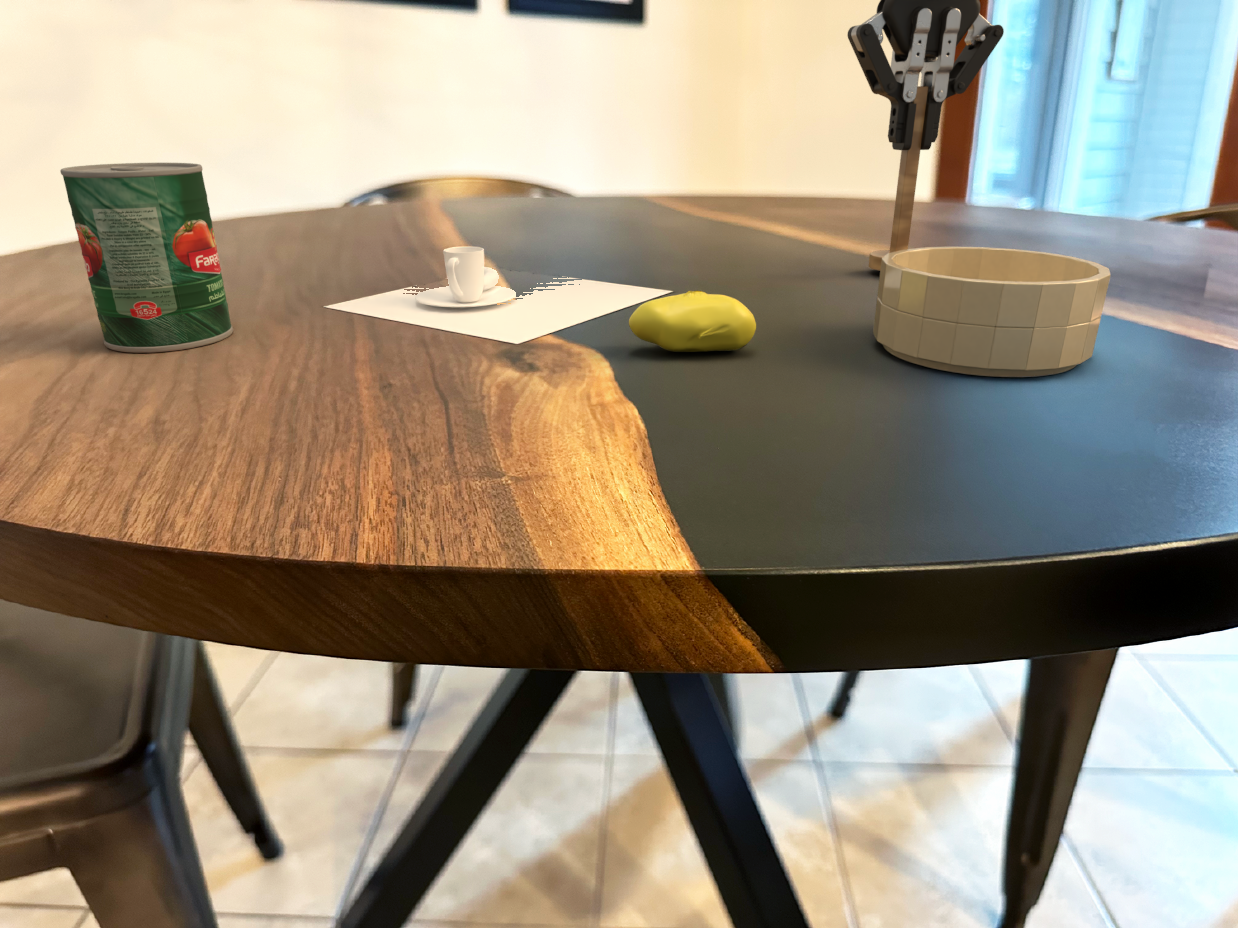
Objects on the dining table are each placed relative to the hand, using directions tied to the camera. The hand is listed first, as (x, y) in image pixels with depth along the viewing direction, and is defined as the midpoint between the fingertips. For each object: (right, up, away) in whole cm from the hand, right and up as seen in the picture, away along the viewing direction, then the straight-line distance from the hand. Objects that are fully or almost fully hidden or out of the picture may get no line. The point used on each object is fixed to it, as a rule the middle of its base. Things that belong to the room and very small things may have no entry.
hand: (911, 149), depth 73 cm
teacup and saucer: (-35, -14, -5) cm, 38 cm away
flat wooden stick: (0, -9, +4) cm, 10 cm away
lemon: (-21, -20, -19) cm, 35 cm away
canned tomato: (-56, -19, -16) cm, 61 cm away
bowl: (-3, -20, -19) cm, 28 cm away
